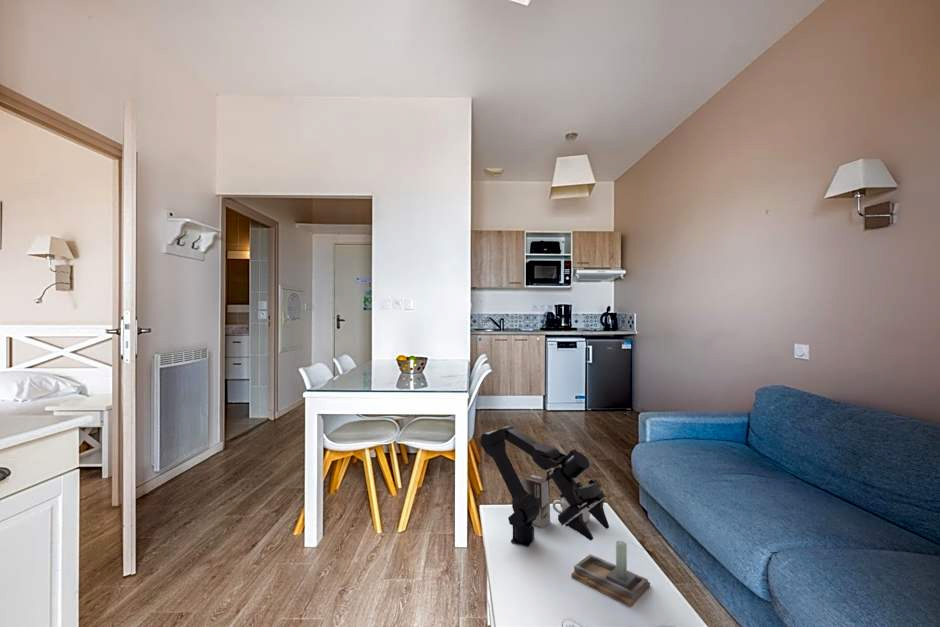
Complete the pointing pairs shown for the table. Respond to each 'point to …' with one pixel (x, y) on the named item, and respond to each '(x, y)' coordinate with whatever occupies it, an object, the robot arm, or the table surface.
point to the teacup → (565, 505)
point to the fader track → (595, 576)
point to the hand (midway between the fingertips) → (600, 533)
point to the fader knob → (622, 568)
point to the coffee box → (539, 496)
